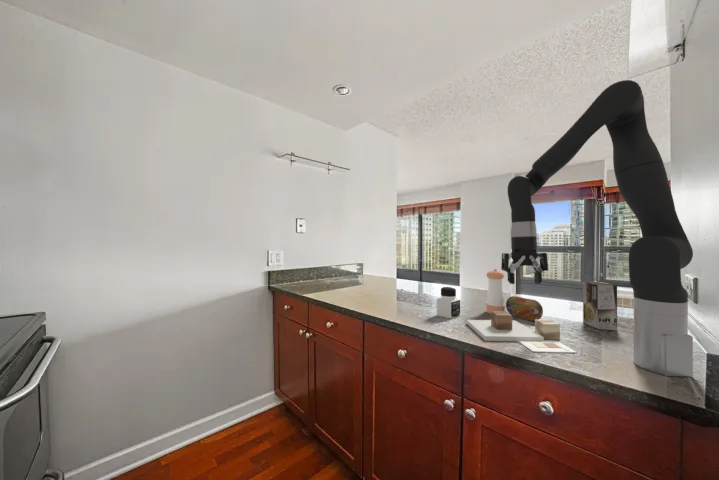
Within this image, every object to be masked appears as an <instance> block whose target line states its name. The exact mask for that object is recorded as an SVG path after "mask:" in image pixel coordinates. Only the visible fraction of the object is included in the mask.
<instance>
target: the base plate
mask: <svg viewBox="0 0 719 480" xmlns="http://www.w3.org/2000/svg"><path fill="white" fill-rule="evenodd" d="M466 325H467V326H469V327H470V328H471V329H472V330H473V331H474V332H475V333H476V334H477V335H478V336H479V337H481V339H482V340H484V341H486V342H518V340H521V341H544V340H545V339H544V337H543V336H541V335H539V334H538V333H536V332H535V330H533V329H531V328H530V327H527V326H526V325H523V324H522V323H520V322H519V321H517V320H513V319H512V330H497V329H495V328H494V327H493V326H491V319H466Z"/></svg>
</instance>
